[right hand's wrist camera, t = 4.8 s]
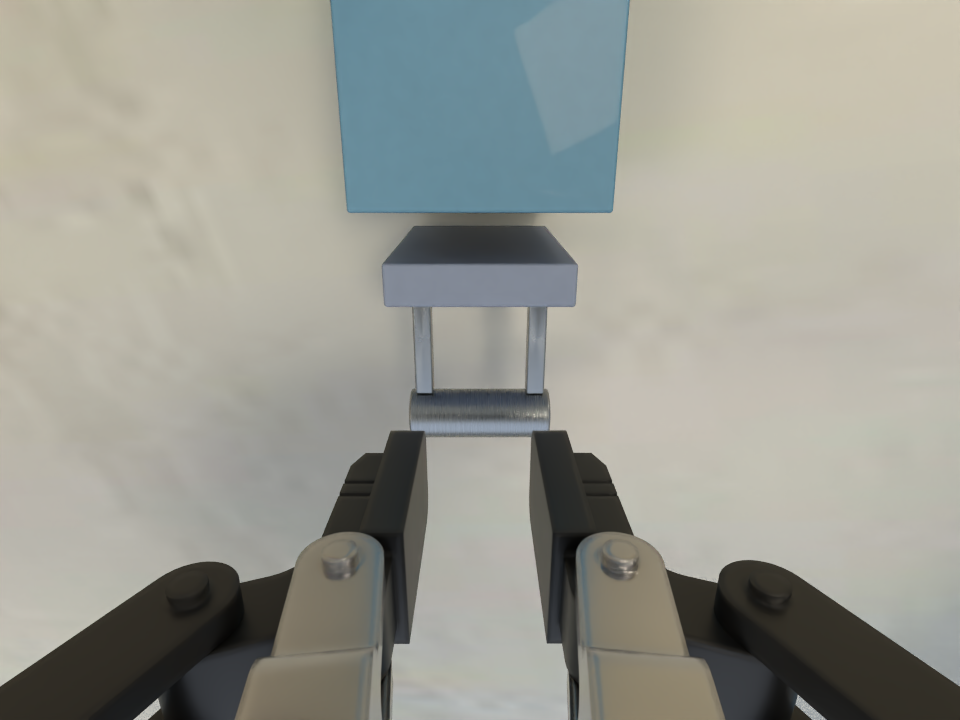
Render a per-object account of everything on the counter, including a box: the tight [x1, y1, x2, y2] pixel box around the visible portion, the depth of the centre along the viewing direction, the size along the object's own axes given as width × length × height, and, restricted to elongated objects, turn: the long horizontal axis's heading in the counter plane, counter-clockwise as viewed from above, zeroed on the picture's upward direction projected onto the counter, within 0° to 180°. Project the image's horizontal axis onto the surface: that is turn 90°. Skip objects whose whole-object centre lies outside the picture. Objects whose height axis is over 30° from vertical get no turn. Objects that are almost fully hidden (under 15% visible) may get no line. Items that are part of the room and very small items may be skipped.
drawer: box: [382, 226, 578, 437], centre depth 17 cm, size 24×5×8 cm, turn 0°
